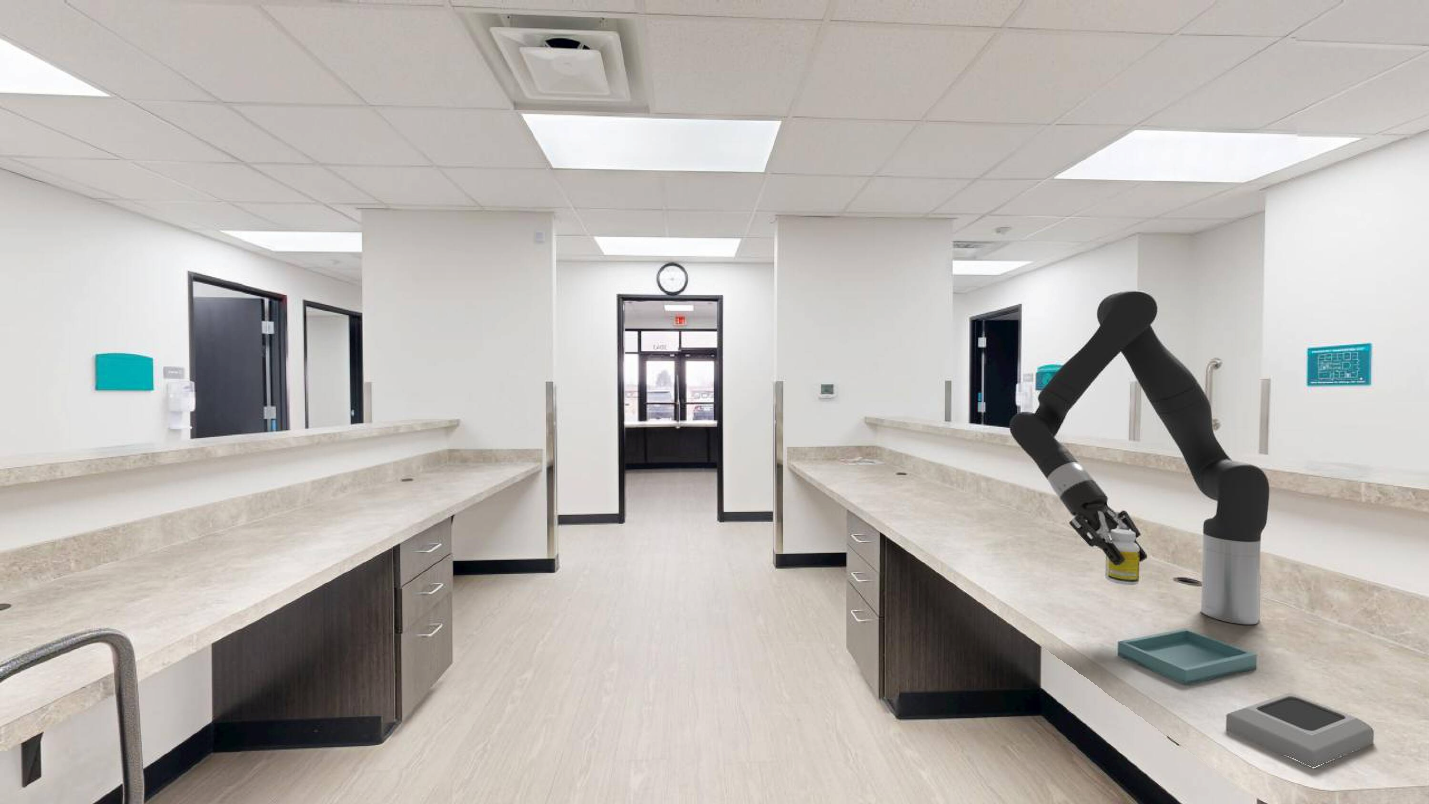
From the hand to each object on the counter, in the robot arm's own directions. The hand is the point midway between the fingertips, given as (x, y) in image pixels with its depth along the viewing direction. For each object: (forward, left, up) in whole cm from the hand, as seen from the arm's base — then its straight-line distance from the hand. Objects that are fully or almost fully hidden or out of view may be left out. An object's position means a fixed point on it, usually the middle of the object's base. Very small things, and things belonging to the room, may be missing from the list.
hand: (1131, 561), depth 113 cm
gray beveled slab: (+8, +30, -16) cm, 35 cm away
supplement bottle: (0, -2, -5) cm, 5 cm away
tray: (-1, +9, -16) cm, 18 cm away
